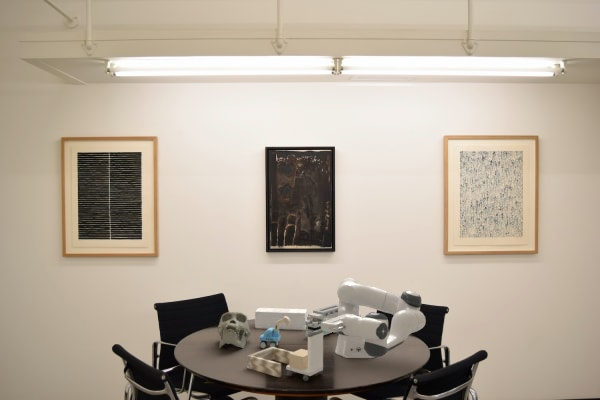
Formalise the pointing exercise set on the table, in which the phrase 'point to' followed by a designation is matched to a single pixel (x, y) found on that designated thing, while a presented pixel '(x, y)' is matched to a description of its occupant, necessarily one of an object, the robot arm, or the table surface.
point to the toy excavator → (273, 334)
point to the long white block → (272, 315)
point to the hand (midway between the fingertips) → (324, 320)
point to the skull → (234, 329)
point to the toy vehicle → (320, 318)
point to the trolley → (308, 357)
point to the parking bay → (268, 360)
